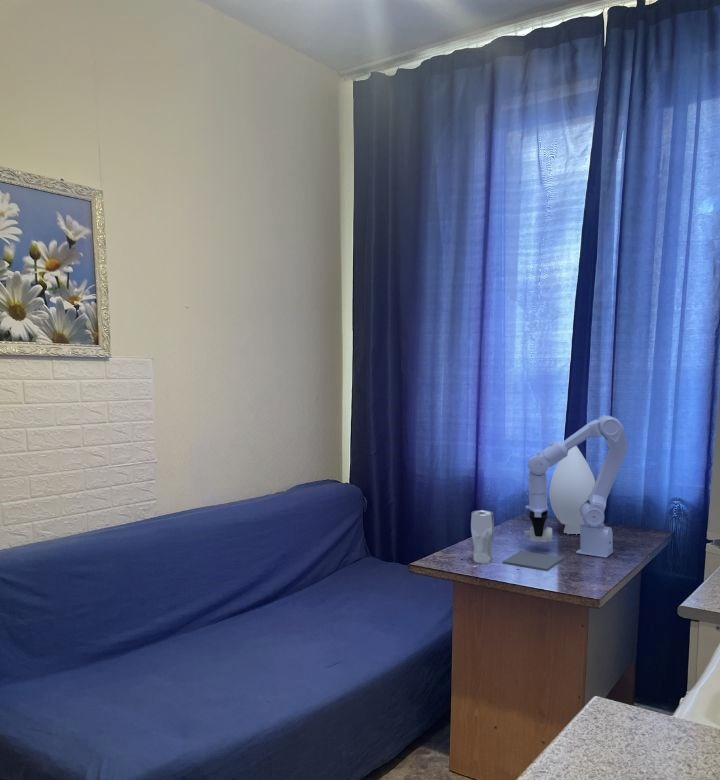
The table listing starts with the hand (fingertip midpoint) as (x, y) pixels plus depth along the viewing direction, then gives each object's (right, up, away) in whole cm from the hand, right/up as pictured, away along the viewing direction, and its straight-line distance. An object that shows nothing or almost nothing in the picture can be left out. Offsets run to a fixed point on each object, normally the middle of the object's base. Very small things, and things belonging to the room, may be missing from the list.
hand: (538, 534), depth 208 cm
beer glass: (-20, -6, -10) cm, 23 cm away
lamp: (+19, -5, +22) cm, 29 cm away
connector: (0, -2, 0) cm, 2 cm away
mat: (-5, -6, -11) cm, 13 cm away
